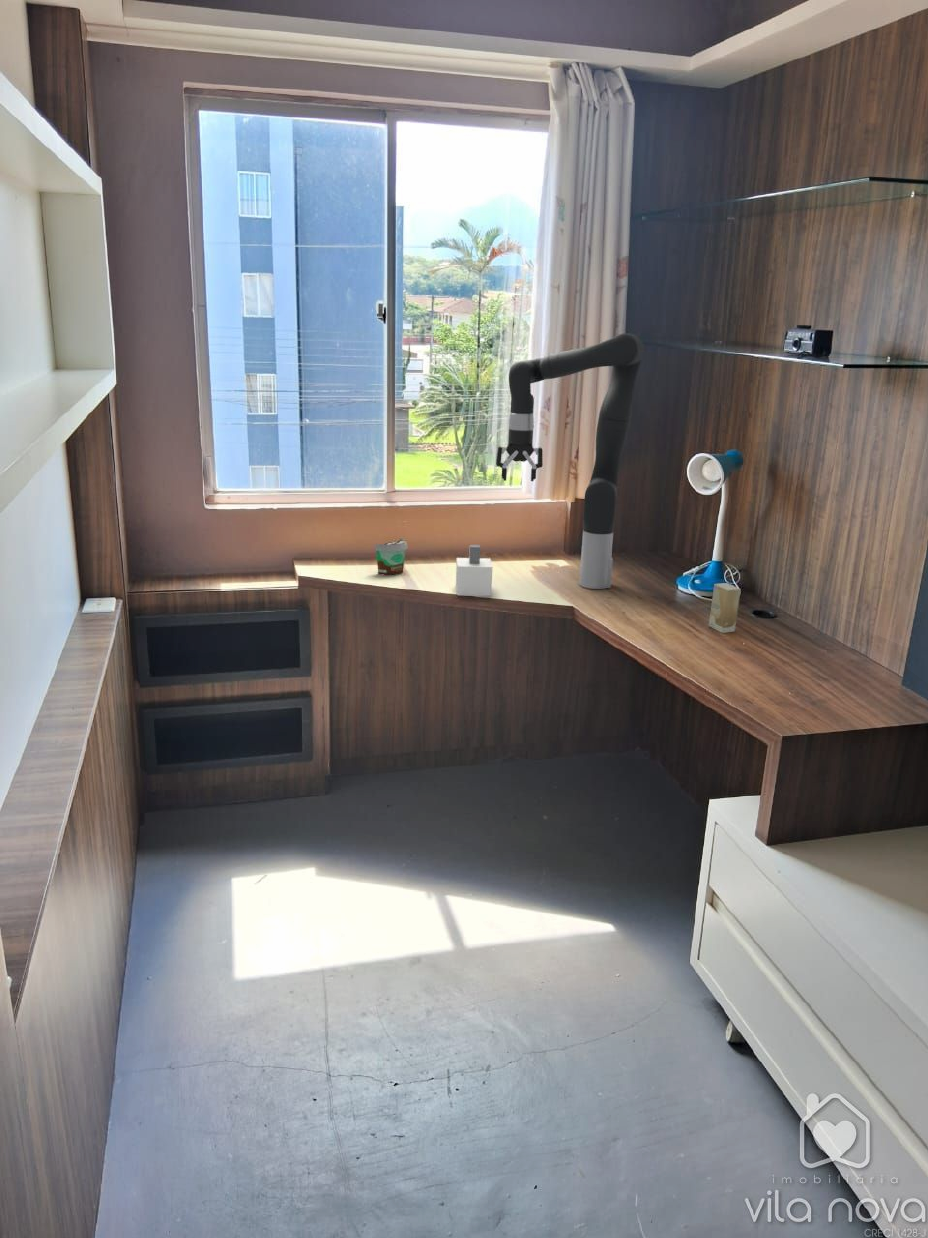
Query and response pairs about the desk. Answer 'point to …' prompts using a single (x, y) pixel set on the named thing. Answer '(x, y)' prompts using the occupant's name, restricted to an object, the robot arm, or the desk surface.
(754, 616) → the desk surface
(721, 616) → the skincare box
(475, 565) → the white block with peg
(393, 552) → the food container
